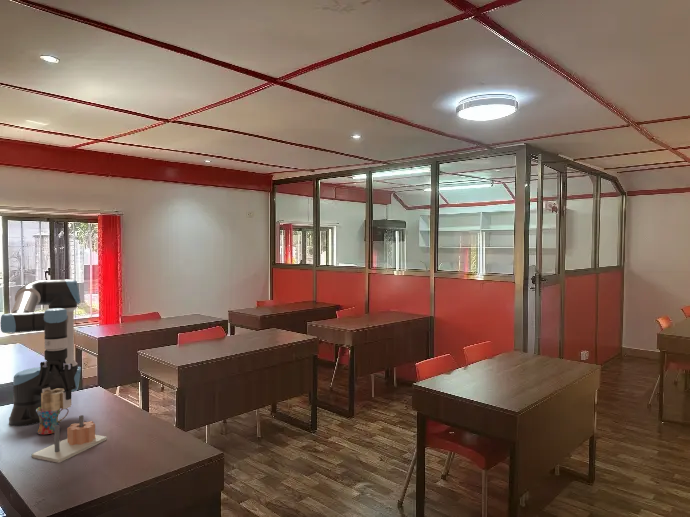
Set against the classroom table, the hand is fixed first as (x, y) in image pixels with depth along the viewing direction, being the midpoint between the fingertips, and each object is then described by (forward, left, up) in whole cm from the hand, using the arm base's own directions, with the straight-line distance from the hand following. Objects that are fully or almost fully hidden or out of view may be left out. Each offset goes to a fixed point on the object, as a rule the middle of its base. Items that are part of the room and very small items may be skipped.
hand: (56, 406), depth 178 cm
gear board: (0, +6, -19) cm, 20 cm away
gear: (0, 0, 0) cm, 0 cm away
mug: (-22, +16, -19) cm, 33 cm away
